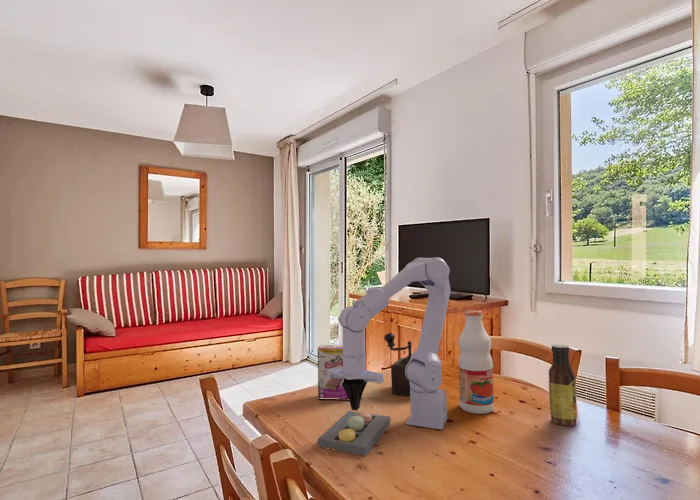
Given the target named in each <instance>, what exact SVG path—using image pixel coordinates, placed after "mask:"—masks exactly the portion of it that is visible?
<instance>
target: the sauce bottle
mask: <svg viewBox="0 0 700 500" xmlns="http://www.w3.org/2000/svg"><path fill="white" fill-rule="evenodd" d="M551 352H552V362H553V363H552V365H550V368H549V369H548V392H549V393H548V394H549V397H548V398H549V411H550V413H549V414H550V418H551V421H552V423H554V424H556V425H559V426H564V427H572V426H575V425H576V424H577V423H578V422H577V418H578V410H577V409H578V406H577V405H578V404H577V388H576V376H575V374H574V372H573V368H572V366H571V364H570V360H569V358H570V357H569V354H570V353H569V352H570V347H569V346H568V345H565V344H552V345H551Z"/></svg>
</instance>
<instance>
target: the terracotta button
mask: <svg viewBox="0 0 700 500" xmlns="http://www.w3.org/2000/svg"><path fill="white" fill-rule="evenodd" d="M372 414H373V413H371V412H369V411H360V413H358V414H357V416H361V417H363V418H364V423H371V421H372Z"/></svg>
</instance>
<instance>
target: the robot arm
mask: <svg viewBox="0 0 700 500" xmlns="http://www.w3.org/2000/svg"><path fill="white" fill-rule="evenodd" d="M450 271H451V269H450V267H449V265H448V264H447V262H446V261H445V260H444V259H443V258H441V257H436V256H435V257H417V258H414V259H413V260H412V261H411V262H408V263H407V264H406V265H405V266H404V267H403V268H402V270H400V271H399V272H398V273H397V274H395V275H394V276H393V277H392V278H391V279H390V280H389V281H387V282H386V283H385V284H384V285H383V286H381V288H379V287H373V288H368V289H367V290H366V291H365V292H366V293H365V295H363V296H361V297H360V298H359V299H358V300H354V301H352V305H350V306H346V307H345V306H344V308H343V309H342V310H341V313H340V314H339V317H337V318H338V319H337V320H338V322H339V324H340V326H341V327H342V328H341V329H342V337H341V339H342V345H343V369H329V370H327V378H341V379H344V382H343V383H342V386H343V388H344V390H345V391H346V393H347V396H348V398H349V400H348V401H349V404H350V409H351V411H355V412H358V410H359V409H360V408H361V407H360V405H361V401H362V396H363V393H364V390H365V389H366V386H367V384H368V382H370V383H376V384H379V385H381V384H382V383H384V373H378V372H374V371H370V370H367V366H366V365H367V363H366V362H367V361H366V359H367V357H366V329H367V328H368V325H369V323H370V320H371V319H373V318H374V317H375V316H376V315H378V314H379V313H380V312H381V311H383V310H384V309H385V308H387V307H388V306H389V301H390V298H392V297H393V296H394V295H396V294H398V293H399V292H401V291H402V290H404V288H406V287H407V286H408V285H410V284H412V283H413V282H419V283H420V284H421V285H423V287H424V288H425V289H426V291H427V292H428V298H427V302H426V308H425V313H424V316H423V320H422V321H423V322H422V326H421V331H420V336H419V341H418V344H417V349H416V350H415V351H413V353H411V359H410V361H409V362H408V364H407V365H406V368H405V375H406V377H407V379H408V380H409V381H410V397H409V398H410V401H409V402H410V416H409V418H408V419H407V421H406V423H405V424H406V425H408V426H414V427H415V426H416V427H420V428H421V427H422V428H428V429H436V430H443V429H444V426H445V425H446V423H447V420H448V407H447V406H448V404H447V403H448V402H447V391H446V390H445V389H440V386H441V385H442V382H443V374H442V367H443V364H442V361H441V359H440V357H439V354H438V353H439V349H440V343H441V339H442V336H443V329H444V326H445V321H446V320H445V319H446V315H447V310H448V305H449V301H450V296H451V285H450V279H449V276H450Z"/></svg>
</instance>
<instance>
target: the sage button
mask: <svg viewBox="0 0 700 500" xmlns="http://www.w3.org/2000/svg"><path fill="white" fill-rule="evenodd" d="M348 429H352V430H354V431H355V432H360V433H362V431H363V430H364V418H363V417H361V416H352V417H349V418H348Z"/></svg>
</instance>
